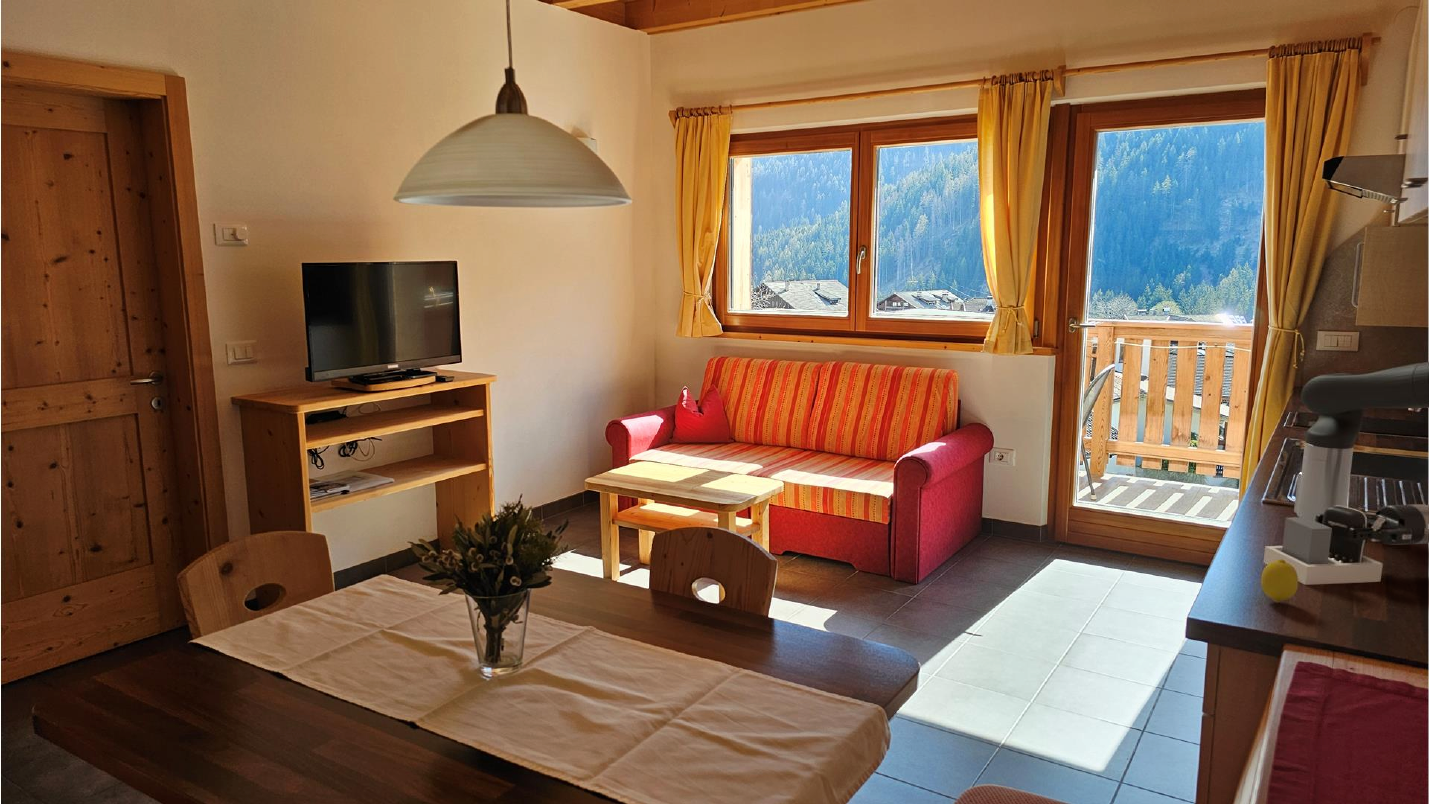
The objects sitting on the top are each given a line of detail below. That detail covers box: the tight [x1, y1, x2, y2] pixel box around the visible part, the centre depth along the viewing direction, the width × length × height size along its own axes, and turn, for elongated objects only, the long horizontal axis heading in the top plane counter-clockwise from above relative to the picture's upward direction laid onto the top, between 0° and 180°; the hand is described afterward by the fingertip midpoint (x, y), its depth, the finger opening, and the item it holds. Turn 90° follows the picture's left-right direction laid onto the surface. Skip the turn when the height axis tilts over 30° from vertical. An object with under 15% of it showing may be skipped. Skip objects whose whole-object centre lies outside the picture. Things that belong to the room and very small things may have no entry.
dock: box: [1263, 516, 1384, 586], centre depth 180 cm, size 11×15×10 cm
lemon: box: [1260, 559, 1299, 604], centre depth 166 cm, size 6×6×8 cm
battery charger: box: [1322, 505, 1368, 563], centre depth 180 cm, size 7×4×11 cm, turn 23°
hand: (1333, 527), depth 179 cm, fingers open, 8 cm apart
